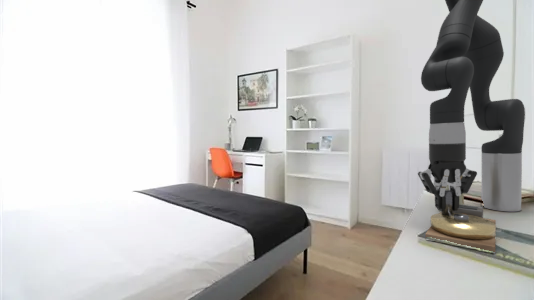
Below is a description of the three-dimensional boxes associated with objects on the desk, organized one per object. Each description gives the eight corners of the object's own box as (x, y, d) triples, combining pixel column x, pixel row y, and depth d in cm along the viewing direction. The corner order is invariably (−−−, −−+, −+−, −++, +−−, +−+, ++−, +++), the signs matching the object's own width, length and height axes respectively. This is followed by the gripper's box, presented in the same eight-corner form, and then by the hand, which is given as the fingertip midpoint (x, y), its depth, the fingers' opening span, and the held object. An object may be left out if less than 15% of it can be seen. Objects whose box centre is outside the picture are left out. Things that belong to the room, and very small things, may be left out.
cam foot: (420, 221, 67) (419, 190, 66) (467, 219, 67) (467, 188, 66) (452, 240, 55) (452, 202, 54) (511, 238, 54) (511, 200, 54)
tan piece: (439, 217, 74) (439, 201, 74) (495, 225, 66) (495, 207, 66) (425, 240, 59) (425, 220, 59) (495, 254, 51) (495, 231, 51)
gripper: (427, 143, 61) (427, 215, 62) (487, 140, 61) (487, 213, 61) (410, 142, 68) (411, 207, 69) (464, 140, 68) (464, 205, 69)
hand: (447, 209), depth 65 cm, fingers closed on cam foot, 2 cm apart
